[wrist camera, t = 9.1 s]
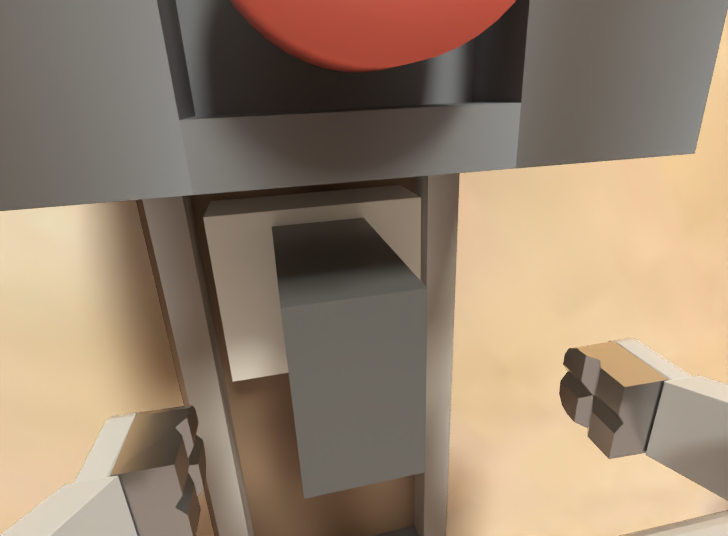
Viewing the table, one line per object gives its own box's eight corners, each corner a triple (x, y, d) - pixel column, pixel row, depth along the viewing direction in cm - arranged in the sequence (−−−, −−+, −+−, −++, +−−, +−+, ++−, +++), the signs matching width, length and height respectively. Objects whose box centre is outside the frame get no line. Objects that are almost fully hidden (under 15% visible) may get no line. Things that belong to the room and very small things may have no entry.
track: (457, -100, 16) (866, -508, 5) (438, 525, 27) (554, 795, 16) (76, -117, 13) (-608, -935, 3) (232, 575, 25) (213, 928, 14)
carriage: (400, 184, 17) (517, 254, 9) (401, 322, 19) (497, 471, 11) (210, 200, 16) (165, 298, 8) (235, 347, 18) (219, 533, 10)
